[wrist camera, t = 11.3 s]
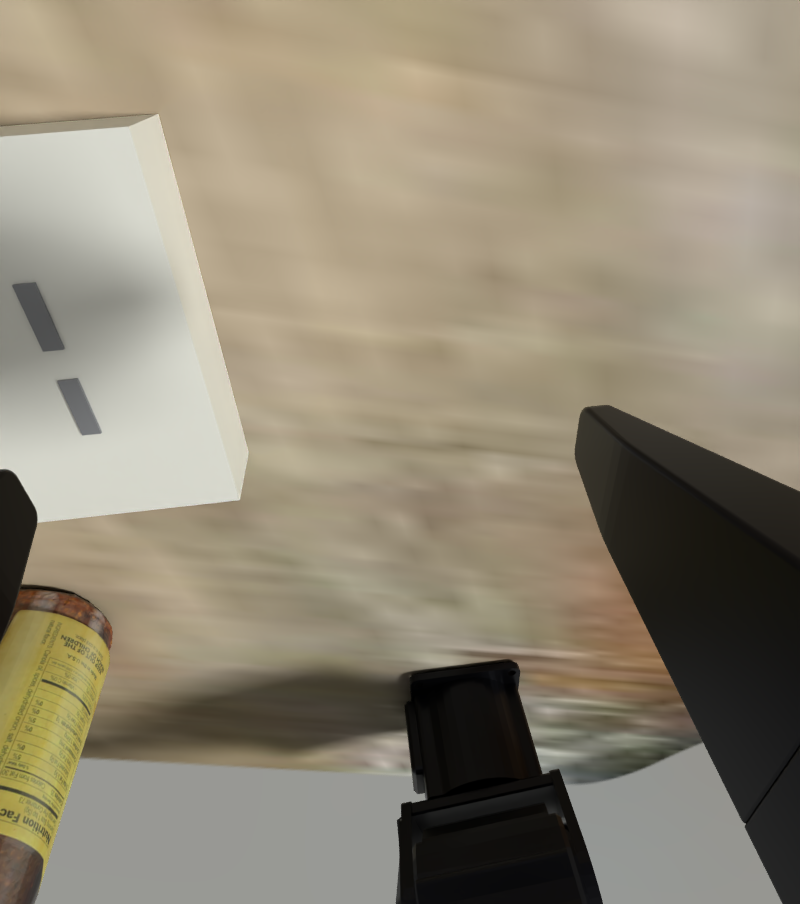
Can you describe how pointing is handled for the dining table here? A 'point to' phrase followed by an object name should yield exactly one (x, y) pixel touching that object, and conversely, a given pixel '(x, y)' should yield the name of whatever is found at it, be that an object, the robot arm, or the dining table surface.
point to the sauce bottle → (43, 725)
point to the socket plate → (107, 328)
